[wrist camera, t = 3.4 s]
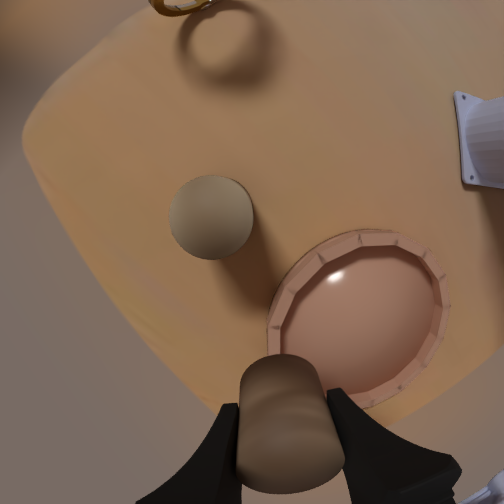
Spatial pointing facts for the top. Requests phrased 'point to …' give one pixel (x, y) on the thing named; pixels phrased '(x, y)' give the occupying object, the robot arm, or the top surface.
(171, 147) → the top surface
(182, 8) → the ring
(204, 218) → the beige tall rounded piece
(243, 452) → the brown short cylinder
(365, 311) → the dish
